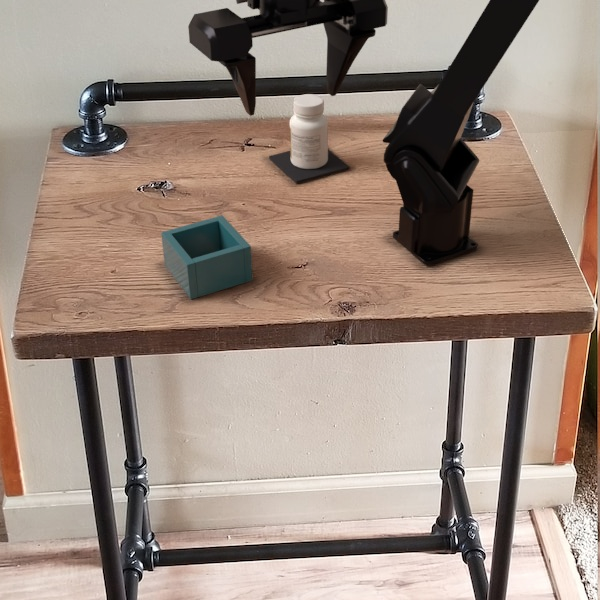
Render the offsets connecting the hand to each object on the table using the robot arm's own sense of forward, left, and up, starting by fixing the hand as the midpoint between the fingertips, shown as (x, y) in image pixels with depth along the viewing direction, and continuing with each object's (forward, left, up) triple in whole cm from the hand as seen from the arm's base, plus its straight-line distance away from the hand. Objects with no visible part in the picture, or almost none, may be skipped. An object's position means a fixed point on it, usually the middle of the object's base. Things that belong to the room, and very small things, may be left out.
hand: (291, 104), depth 98 cm
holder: (+12, +6, -13) cm, 19 cm away
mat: (-7, -9, -13) cm, 18 cm away
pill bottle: (-7, -9, -13) cm, 17 cm away
